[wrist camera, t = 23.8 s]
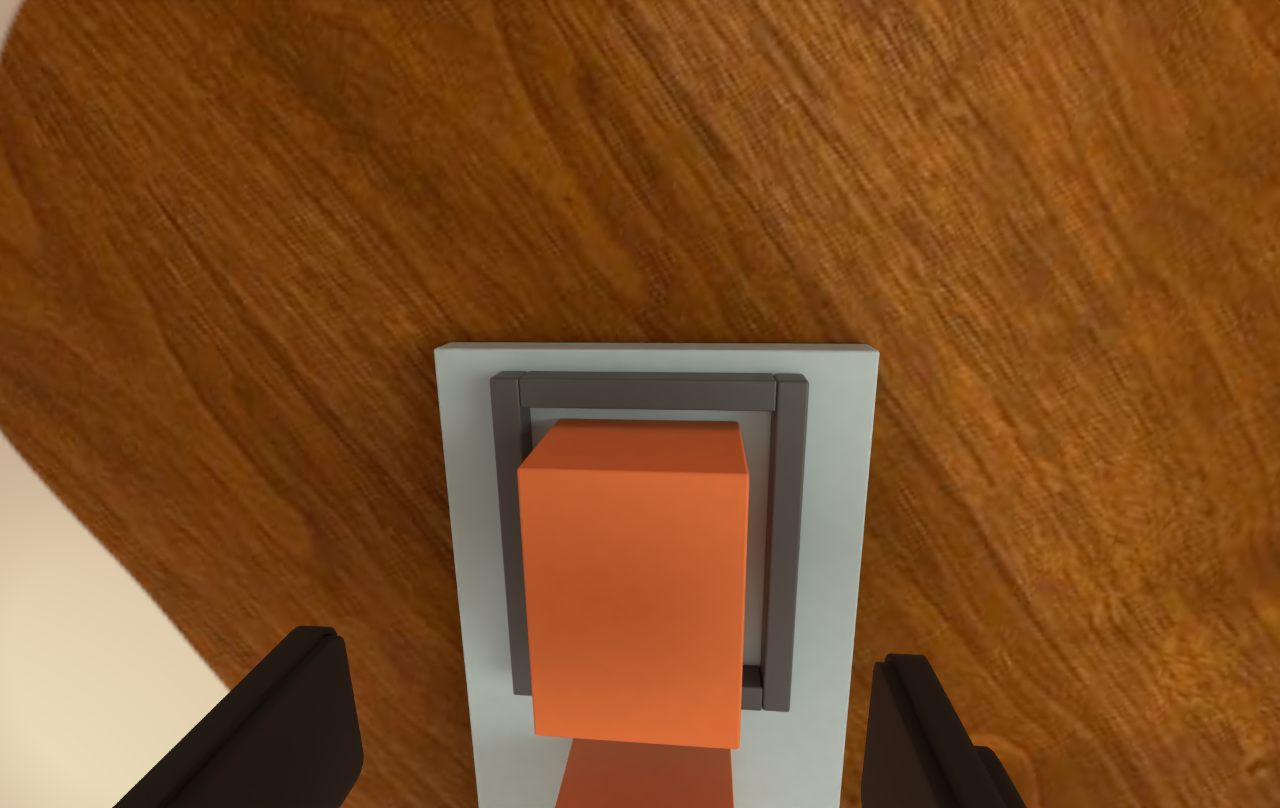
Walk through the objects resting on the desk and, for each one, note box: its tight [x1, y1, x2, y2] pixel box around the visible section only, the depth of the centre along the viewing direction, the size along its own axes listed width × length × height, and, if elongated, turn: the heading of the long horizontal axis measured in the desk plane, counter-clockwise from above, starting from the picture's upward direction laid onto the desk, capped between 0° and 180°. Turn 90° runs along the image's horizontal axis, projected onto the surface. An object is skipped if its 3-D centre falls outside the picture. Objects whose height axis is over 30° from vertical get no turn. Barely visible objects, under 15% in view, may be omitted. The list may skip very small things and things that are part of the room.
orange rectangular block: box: [517, 419, 749, 749], centre depth 16 cm, size 5×7×4 cm
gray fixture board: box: [434, 342, 879, 808], centre depth 18 cm, size 12×20×5 cm, turn 1°
